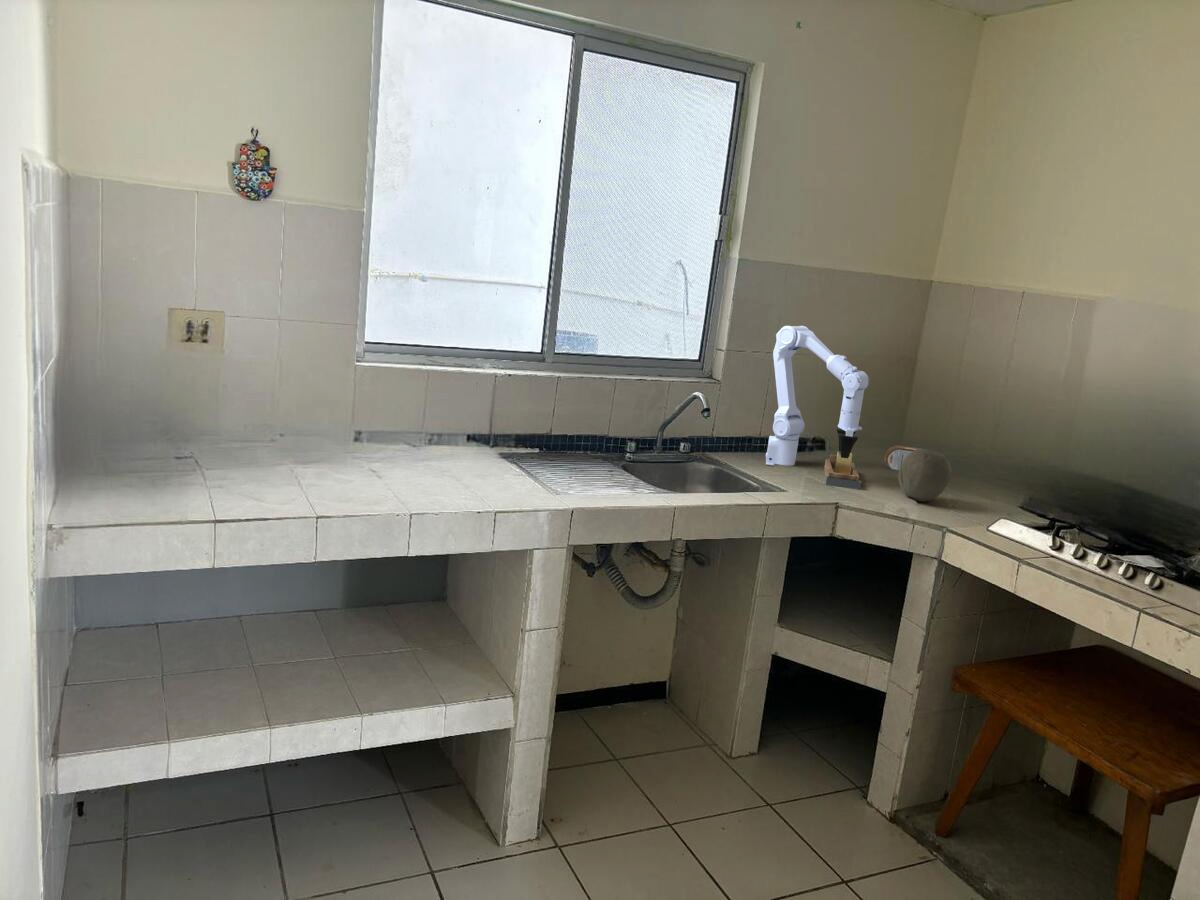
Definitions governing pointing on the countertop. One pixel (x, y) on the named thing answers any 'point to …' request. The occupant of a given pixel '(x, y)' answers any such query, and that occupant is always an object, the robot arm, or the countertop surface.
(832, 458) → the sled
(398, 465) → the countertop surface
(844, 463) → the block
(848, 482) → the track
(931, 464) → the cantaloupe
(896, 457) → the tin
